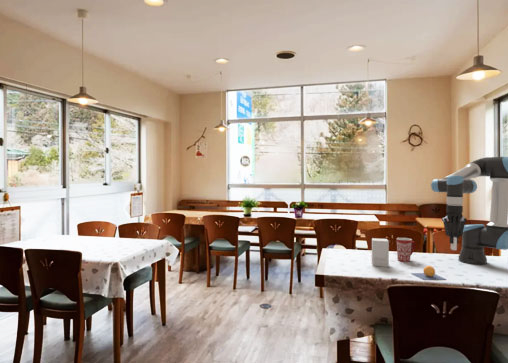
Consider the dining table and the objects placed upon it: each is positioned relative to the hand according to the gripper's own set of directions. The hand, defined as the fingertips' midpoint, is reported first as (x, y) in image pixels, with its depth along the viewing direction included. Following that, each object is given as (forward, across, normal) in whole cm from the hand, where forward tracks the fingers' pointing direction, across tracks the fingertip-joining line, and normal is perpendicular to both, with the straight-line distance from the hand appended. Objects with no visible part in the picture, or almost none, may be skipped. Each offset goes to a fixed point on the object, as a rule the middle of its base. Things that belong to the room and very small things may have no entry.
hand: (453, 249), depth 190 cm
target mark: (+14, +14, 0) cm, 20 cm away
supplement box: (+14, +28, -26) cm, 41 cm away
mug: (+14, +6, -36) cm, 39 cm away
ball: (+11, +14, 0) cm, 17 cm away
